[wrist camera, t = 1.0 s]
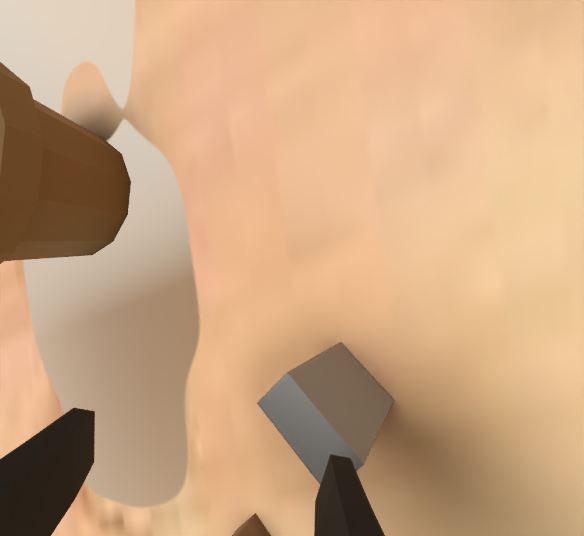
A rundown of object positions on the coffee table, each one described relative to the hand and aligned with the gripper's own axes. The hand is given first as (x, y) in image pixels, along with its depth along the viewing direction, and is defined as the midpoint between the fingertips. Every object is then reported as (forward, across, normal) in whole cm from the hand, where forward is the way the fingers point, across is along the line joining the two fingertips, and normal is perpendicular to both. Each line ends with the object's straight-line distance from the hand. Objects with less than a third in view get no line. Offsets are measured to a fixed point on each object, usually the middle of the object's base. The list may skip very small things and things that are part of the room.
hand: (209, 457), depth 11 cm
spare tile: (+10, -7, +4) cm, 13 cm away
